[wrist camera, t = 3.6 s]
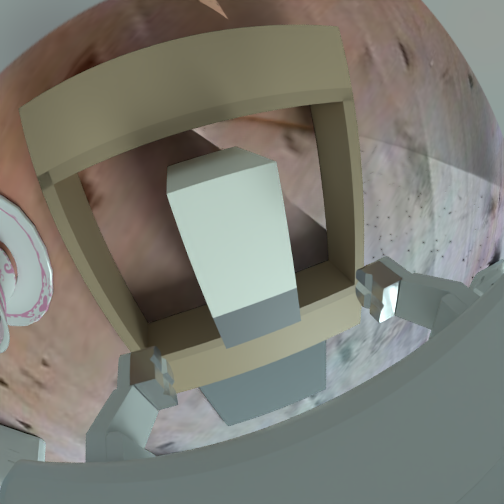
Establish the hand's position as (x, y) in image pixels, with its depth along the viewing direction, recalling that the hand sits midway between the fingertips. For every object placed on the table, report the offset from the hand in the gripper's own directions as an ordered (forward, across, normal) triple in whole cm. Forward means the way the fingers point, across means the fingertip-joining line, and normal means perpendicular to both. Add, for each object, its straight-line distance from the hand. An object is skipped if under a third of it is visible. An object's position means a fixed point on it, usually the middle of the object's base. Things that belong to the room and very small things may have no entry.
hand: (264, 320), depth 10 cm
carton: (+10, 0, 0) cm, 10 cm away
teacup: (+11, +18, -4) cm, 21 cm away
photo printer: (+11, +43, +22) cm, 49 cm away
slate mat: (+10, 0, +20) cm, 23 cm away
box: (+10, 0, 0) cm, 10 cm away
